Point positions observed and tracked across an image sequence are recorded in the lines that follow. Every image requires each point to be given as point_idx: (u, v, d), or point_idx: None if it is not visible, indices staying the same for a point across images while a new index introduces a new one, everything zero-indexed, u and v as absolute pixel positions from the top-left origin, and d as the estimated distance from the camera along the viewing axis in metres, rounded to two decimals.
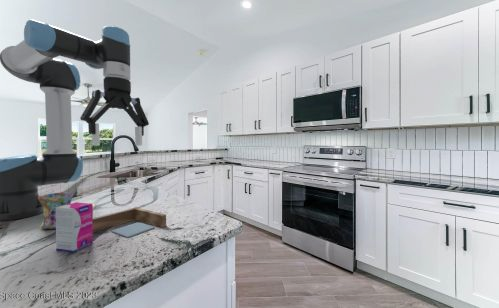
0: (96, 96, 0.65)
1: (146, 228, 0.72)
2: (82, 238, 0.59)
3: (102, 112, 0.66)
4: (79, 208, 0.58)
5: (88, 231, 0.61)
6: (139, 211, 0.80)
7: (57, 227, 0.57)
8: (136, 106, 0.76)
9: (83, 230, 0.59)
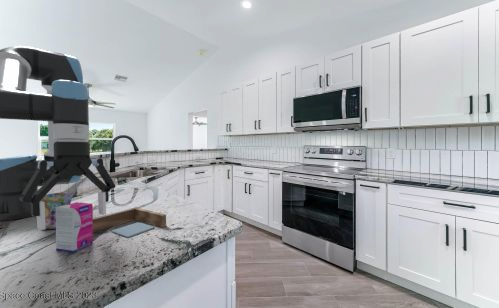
0: (41, 169, 0.52)
1: (146, 228, 0.72)
2: (82, 238, 0.59)
3: (49, 187, 0.54)
4: (79, 208, 0.58)
5: (88, 231, 0.61)
6: (139, 211, 0.80)
7: (57, 227, 0.57)
8: (98, 168, 0.64)
9: (83, 230, 0.59)
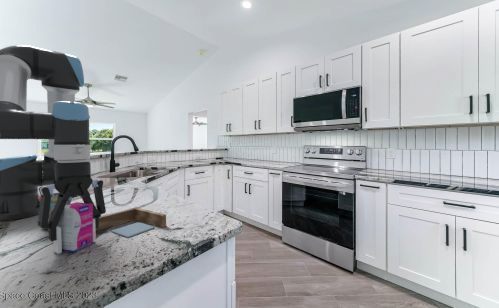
0: (45, 196, 0.53)
1: (146, 228, 0.72)
2: (82, 238, 0.59)
3: (60, 211, 0.56)
4: (79, 208, 0.58)
5: (88, 231, 0.61)
6: (139, 211, 0.80)
7: None
8: (96, 190, 0.64)
9: (83, 230, 0.59)
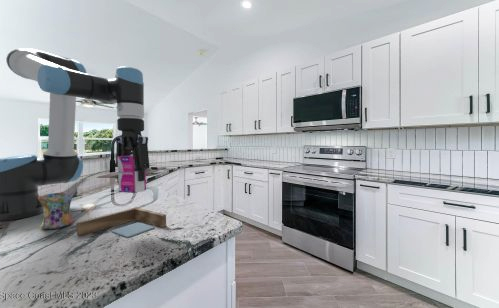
0: (116, 143, 0.73)
1: (146, 228, 0.72)
2: (124, 184, 0.68)
3: None
4: (121, 157, 0.68)
5: (130, 180, 0.68)
6: (139, 211, 0.80)
7: None
8: None
9: (125, 177, 0.68)
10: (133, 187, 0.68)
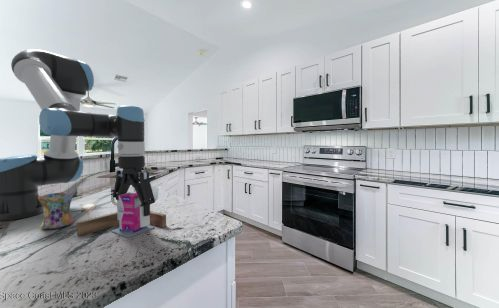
0: (116, 176, 0.73)
1: (146, 228, 0.72)
2: (125, 223, 0.69)
3: (120, 190, 0.73)
4: (122, 197, 0.69)
5: (130, 219, 0.68)
6: None
7: None
8: None
9: (126, 216, 0.69)
10: (133, 226, 0.68)
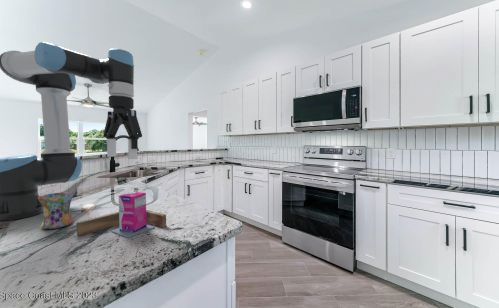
0: None
1: (146, 228, 0.72)
2: (125, 223, 0.69)
3: (110, 129, 0.79)
4: (122, 197, 0.69)
5: (130, 219, 0.68)
6: None
7: None
8: None
9: (126, 216, 0.69)
10: (133, 226, 0.68)
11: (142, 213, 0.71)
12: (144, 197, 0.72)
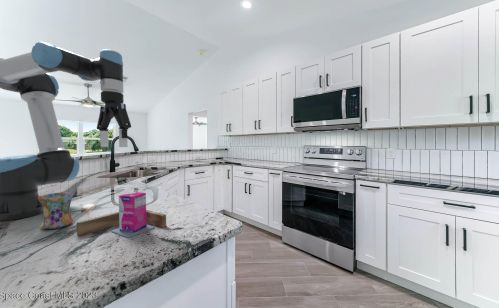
0: (100, 111, 0.89)
1: (146, 228, 0.72)
2: (125, 223, 0.69)
3: (102, 122, 0.88)
4: (122, 197, 0.69)
5: (130, 219, 0.68)
6: None
7: None
8: None
9: (126, 216, 0.69)
10: (133, 226, 0.68)
11: (142, 213, 0.71)
12: (144, 197, 0.72)
